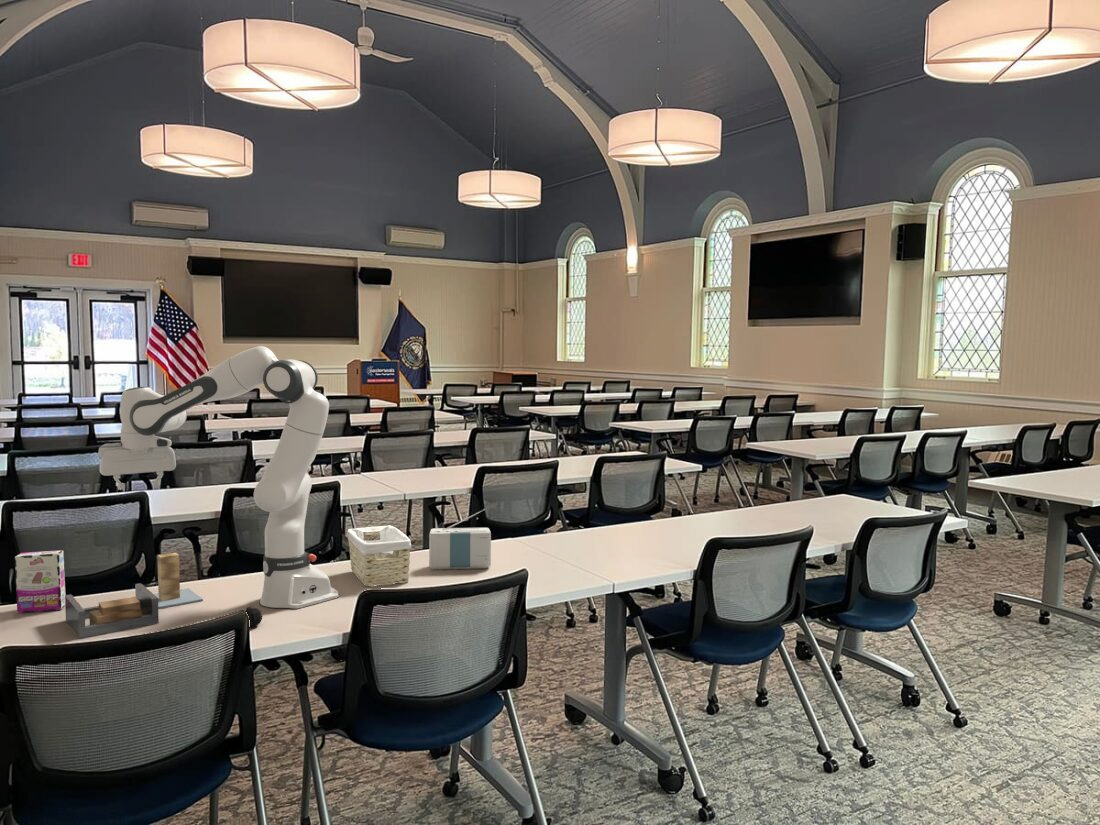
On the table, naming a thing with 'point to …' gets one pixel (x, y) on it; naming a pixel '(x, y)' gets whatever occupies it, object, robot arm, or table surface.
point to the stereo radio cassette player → (459, 547)
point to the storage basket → (379, 555)
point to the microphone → (254, 616)
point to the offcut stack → (116, 610)
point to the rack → (79, 614)
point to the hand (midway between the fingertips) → (139, 488)
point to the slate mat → (180, 599)
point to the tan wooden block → (168, 576)
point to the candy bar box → (40, 581)
